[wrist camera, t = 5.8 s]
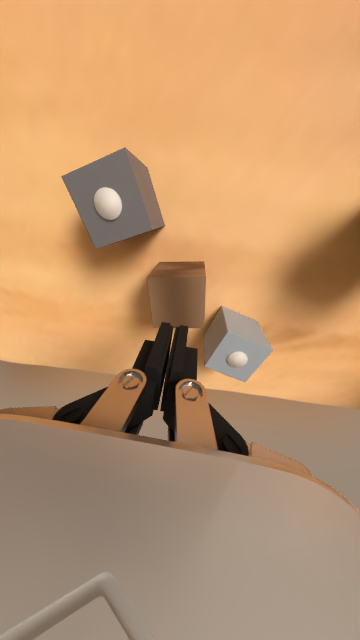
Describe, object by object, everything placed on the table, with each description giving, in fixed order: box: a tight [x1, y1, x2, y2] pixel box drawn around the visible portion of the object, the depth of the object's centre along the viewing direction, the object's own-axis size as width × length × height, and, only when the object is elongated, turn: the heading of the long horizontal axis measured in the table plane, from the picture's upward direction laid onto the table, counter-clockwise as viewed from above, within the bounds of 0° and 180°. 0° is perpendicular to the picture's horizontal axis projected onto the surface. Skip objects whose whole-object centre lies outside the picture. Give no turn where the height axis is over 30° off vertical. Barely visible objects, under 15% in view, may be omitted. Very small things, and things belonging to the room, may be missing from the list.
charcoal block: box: [61, 148, 165, 249], centre depth 16 cm, size 5×5×6 cm
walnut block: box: [147, 262, 206, 328], centre depth 20 cm, size 5×5×6 cm
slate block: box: [204, 306, 273, 382], centre depth 22 cm, size 5×5×6 cm
